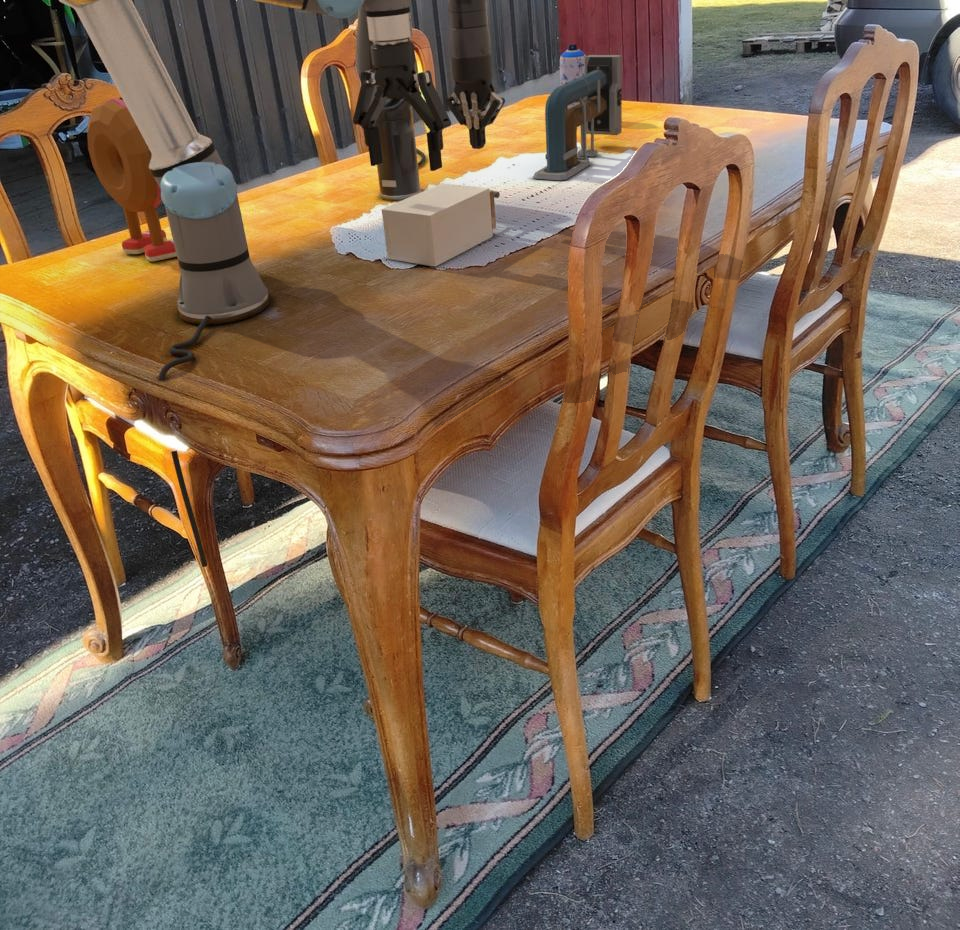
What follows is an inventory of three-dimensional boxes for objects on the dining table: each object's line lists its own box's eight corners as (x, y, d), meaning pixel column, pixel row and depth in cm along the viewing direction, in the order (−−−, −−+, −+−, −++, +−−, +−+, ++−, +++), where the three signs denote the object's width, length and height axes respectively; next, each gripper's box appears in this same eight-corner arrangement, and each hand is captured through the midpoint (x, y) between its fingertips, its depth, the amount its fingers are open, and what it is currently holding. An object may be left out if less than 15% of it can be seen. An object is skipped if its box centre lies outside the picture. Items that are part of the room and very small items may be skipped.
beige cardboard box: (446, 230, 196) (442, 183, 191) (492, 236, 190) (489, 188, 185) (387, 258, 183) (381, 209, 178) (435, 266, 177) (430, 215, 172)
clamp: (565, 180, 221) (562, 81, 210) (530, 178, 225) (526, 81, 214) (621, 144, 247) (621, 55, 236) (589, 143, 251) (588, 55, 240)
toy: (207, 253, 194) (172, 96, 178) (163, 268, 187) (122, 106, 172) (152, 236, 207) (115, 88, 191) (109, 250, 200) (67, 98, 185)
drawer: (470, 214, 200) (467, 178, 196) (511, 220, 195) (509, 183, 191) (401, 248, 184) (396, 209, 181) (443, 254, 179) (440, 215, 175)
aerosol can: (559, 122, 275) (557, 47, 265) (562, 117, 282) (559, 42, 272) (587, 121, 274) (585, 45, 263) (589, 115, 280) (587, 41, 270)
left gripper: (463, 37, 162) (474, 165, 173) (349, 37, 175) (365, 157, 186) (438, 45, 157) (450, 176, 168) (322, 44, 170) (340, 167, 180)
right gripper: (511, 49, 179) (517, 145, 188) (454, 48, 186) (461, 141, 194) (489, 56, 174) (495, 155, 182) (430, 55, 180) (439, 150, 189)
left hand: (406, 166), depth 177 cm, fingers open, 13 cm apart
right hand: (478, 147), depth 188 cm, fingers closed
